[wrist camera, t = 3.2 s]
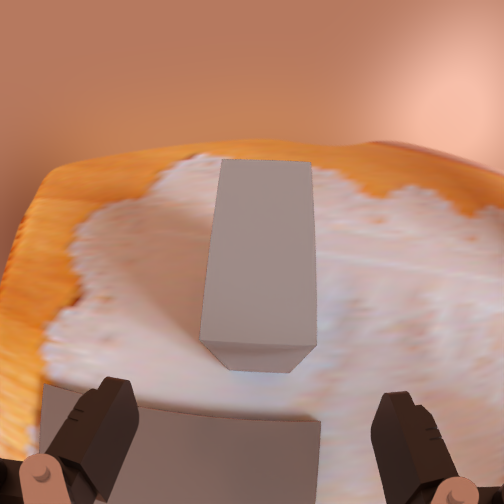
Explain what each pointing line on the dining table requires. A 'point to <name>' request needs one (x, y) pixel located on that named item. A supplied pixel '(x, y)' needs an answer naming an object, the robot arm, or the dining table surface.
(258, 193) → the slab
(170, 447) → the slate board
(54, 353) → the dining table surface
